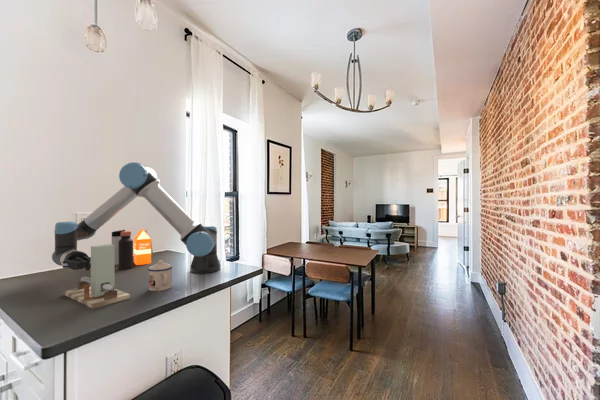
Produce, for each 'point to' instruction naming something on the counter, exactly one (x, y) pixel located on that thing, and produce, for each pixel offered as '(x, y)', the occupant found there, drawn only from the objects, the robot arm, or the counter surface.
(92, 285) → the pale green block
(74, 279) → the counter surface
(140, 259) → the orange juice
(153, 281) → the teacup with lid
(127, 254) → the vinegar
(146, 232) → the squeeze bottle
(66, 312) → the counter surface
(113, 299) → the rail base
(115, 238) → the travel mug
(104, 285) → the steel rod
